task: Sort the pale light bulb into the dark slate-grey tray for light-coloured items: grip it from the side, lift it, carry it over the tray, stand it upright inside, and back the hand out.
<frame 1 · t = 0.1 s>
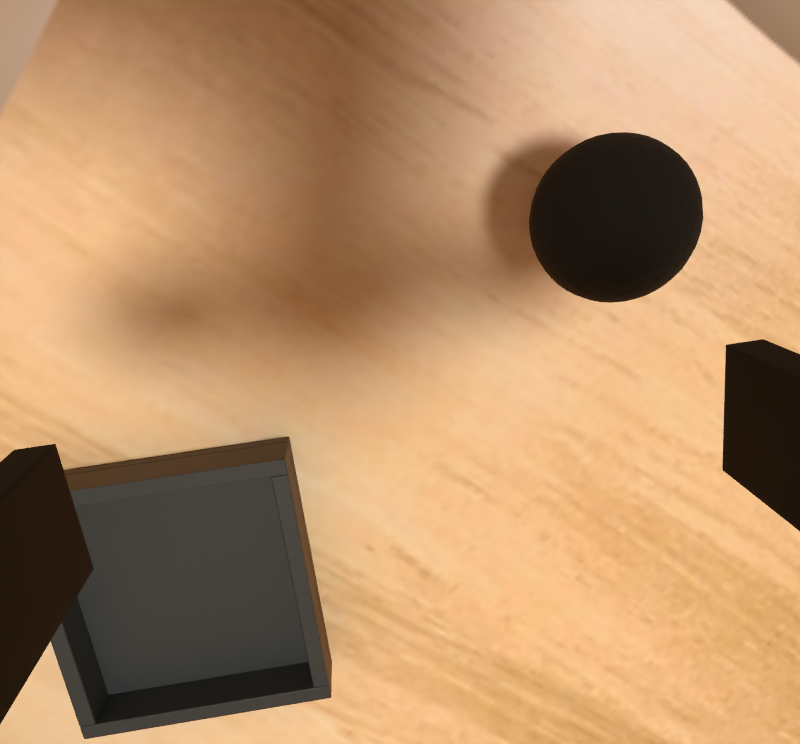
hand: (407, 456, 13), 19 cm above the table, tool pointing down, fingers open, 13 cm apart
slate tray: (190, 575, 34), on the table
light bulb: (551, 207, 31), on the table
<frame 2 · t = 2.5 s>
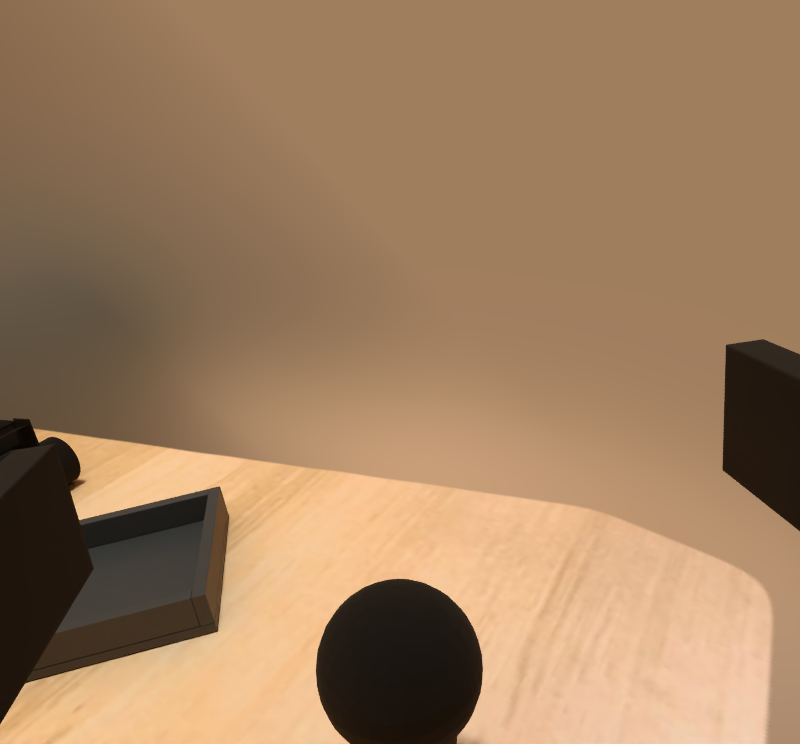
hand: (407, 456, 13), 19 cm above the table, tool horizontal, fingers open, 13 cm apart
slate tray: (118, 593, 43), on the table
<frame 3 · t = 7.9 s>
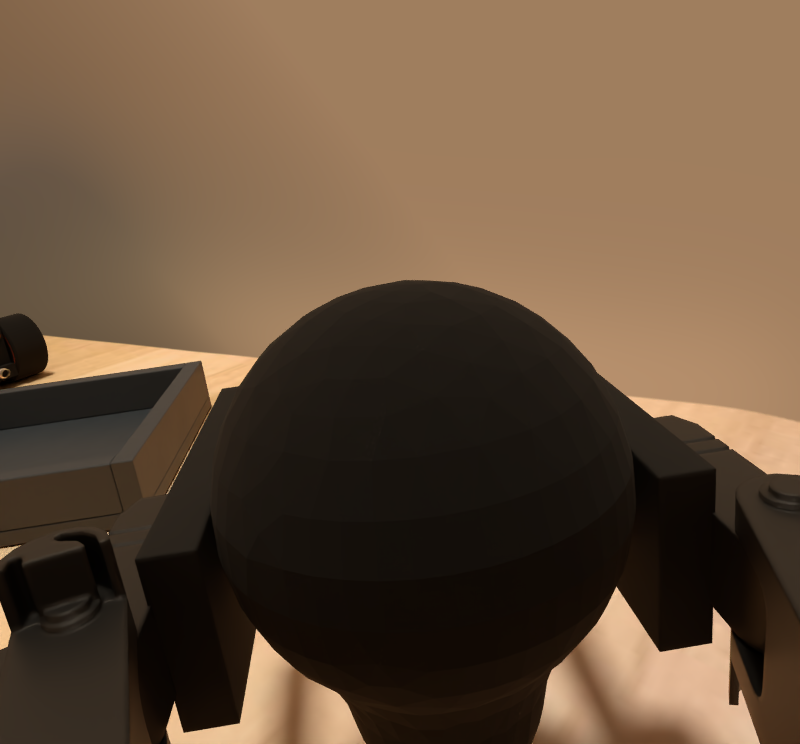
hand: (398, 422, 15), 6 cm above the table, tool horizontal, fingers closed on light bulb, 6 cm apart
slate tray: (35, 476, 30), on the table
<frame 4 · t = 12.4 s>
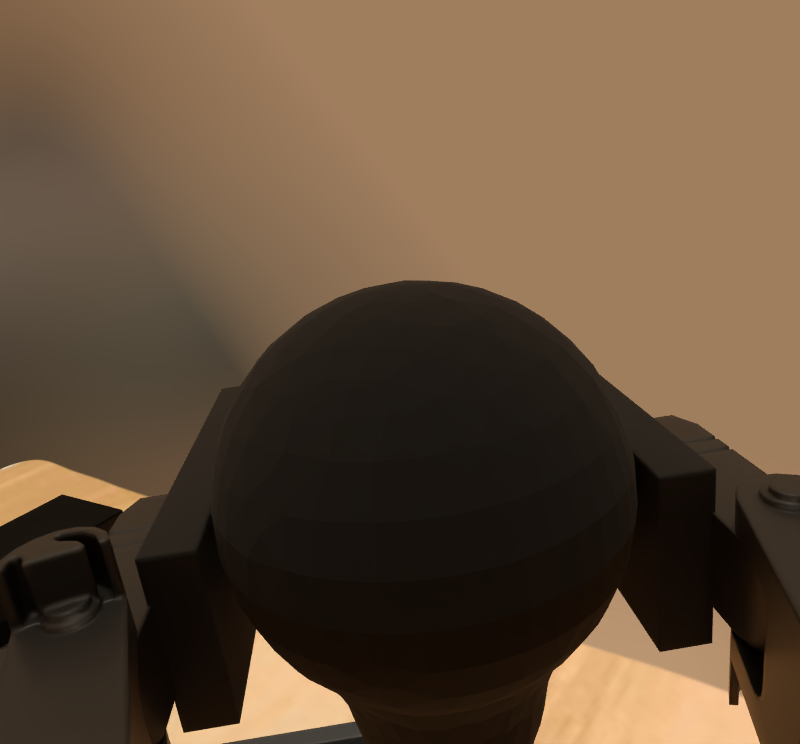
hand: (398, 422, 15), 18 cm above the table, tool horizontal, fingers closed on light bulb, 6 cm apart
toy truck: (37, 627, 40), on the table
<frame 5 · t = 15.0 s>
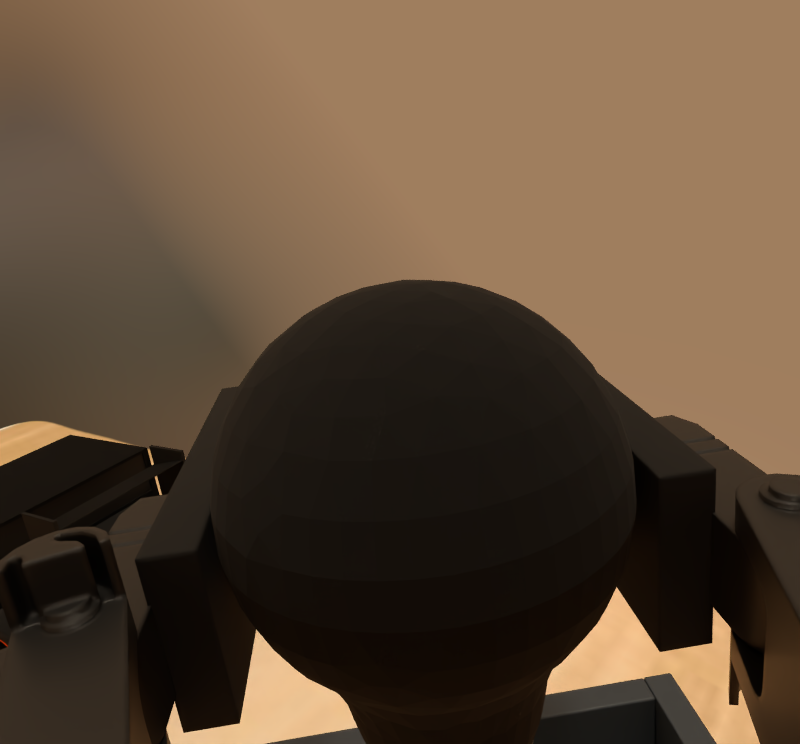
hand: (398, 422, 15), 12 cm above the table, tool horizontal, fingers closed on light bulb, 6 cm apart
toy truck: (40, 596, 32), on the table
when the fingers open (7 cm above the table, at t = 16.8 s): light bulb stays where it is, resting on slate tray.
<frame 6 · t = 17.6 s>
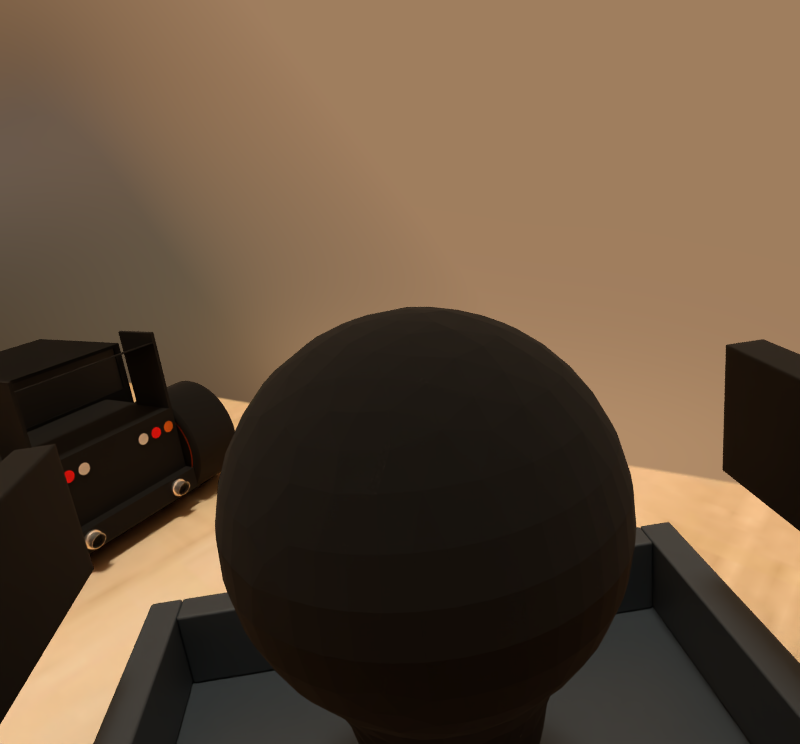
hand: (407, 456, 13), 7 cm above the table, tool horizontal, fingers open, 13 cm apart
toy truck: (7, 503, 30), on the table
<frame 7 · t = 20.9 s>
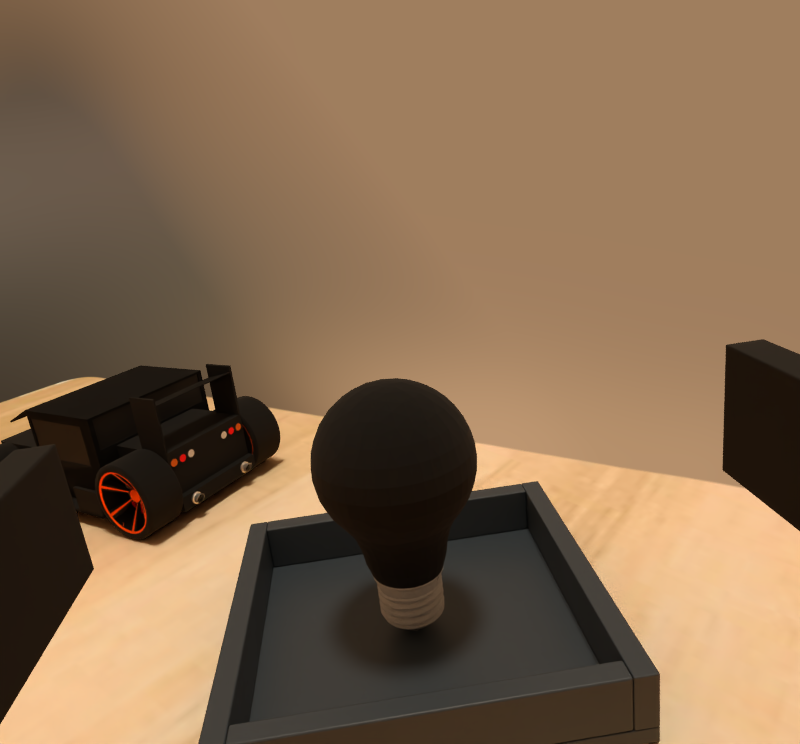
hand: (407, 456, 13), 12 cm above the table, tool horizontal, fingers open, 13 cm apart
slate tray: (417, 638, 26), on the table
toy truck: (121, 479, 44), on the table
light bulb: (415, 630, 26), resting on slate tray
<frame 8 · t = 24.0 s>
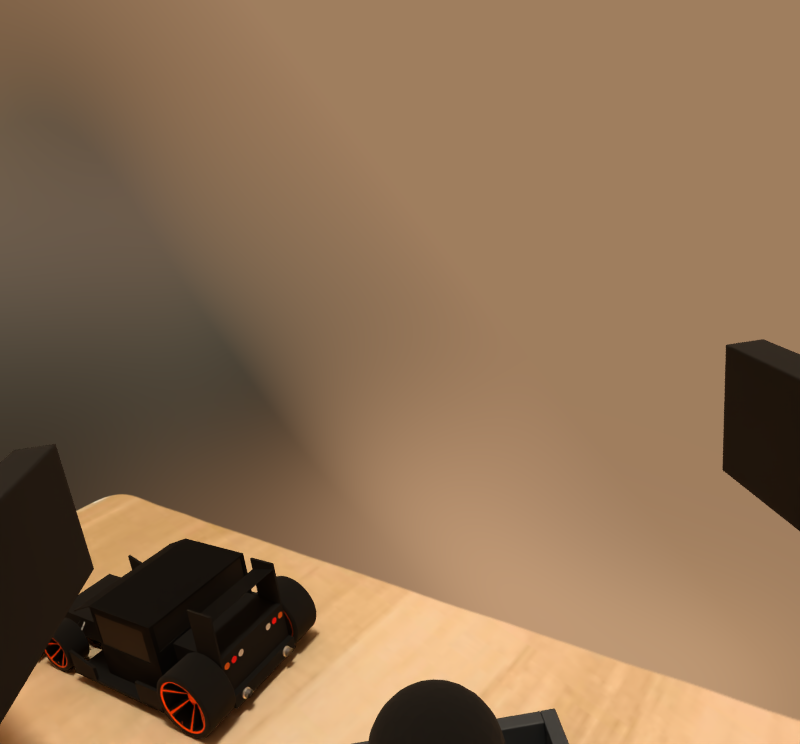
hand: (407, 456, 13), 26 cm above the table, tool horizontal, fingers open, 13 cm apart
toy truck: (170, 649, 48), on the table
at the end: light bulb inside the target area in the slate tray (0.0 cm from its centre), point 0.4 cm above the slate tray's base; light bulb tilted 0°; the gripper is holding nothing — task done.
